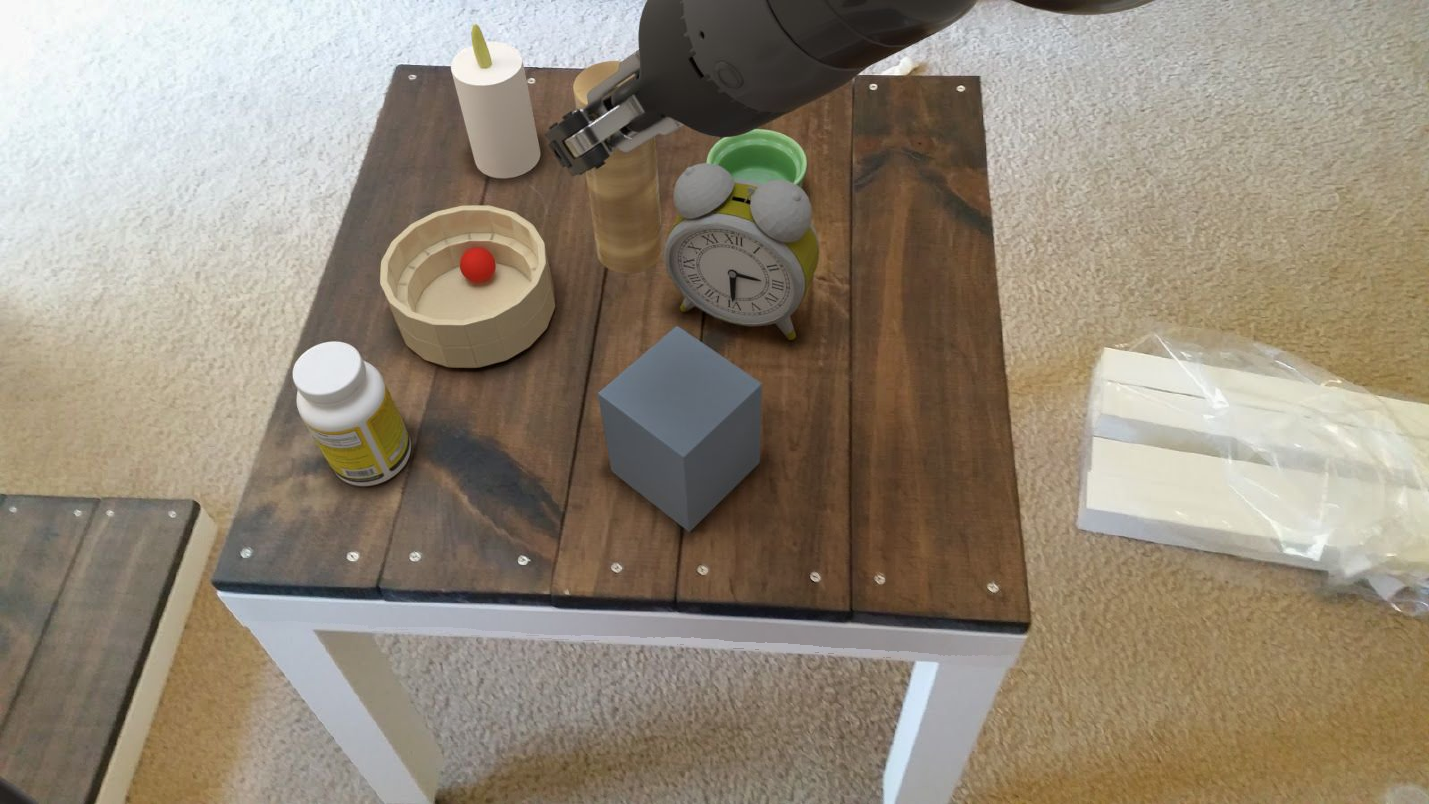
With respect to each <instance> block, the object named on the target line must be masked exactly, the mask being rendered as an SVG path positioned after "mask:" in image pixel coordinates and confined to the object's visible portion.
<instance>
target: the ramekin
mask: <svg viewBox="0 0 1429 804" xmlns="http://www.w3.org/2000/svg"><path fill="white" fill-rule="evenodd" d="M706 163H710V164H716V165H718V166H720V167H722V168H724V169H725V170H726V171H728V172H729V173H730V174H731V176H732V178H733V179H742V180H749V181H754V182H757V183H761V184H765V183H767V182H770V181H772V180H786V181H789V182H792V183H794V184H796V185H797V186H799V187H800V188H801V189H803V188H802V187H803V182H804V178H805V176H806V173H807V167H808V160H807V155H806V153H805V151H804V149H803V147H802V146H801V145H800V144H799V143H798V142H797V141H796V140H795V139H793V138H792V137H790V136H788V135H787V134H783V133H781V132H778V131H776V130H770V129H763V128H762V129H761V128H756V129H754V130H752V131H750V132H748V133H745V134H742V135H739V136H733V137H721V139H719V140H718V141H717V142H716V143H715V144H714V145H713V146H712V147H711V149H710V150H709V152H708V154H707V157H706Z"/></svg>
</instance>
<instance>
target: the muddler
mask: <svg viewBox="0 0 1429 804" xmlns="http://www.w3.org/2000/svg"><path fill="white" fill-rule="evenodd" d="M622 61H623V60H608V61H602V62H597V63H595V64H592V65H590V66H588V67H586V68H584V69H583V70H582V71H581V72H580V73H579V74H578V75H577V76H576V77H575V80H574V82H573V86H572V91H573V98H574V103H575V110H576V109H579V110H580V109H582V108H583V107H586V106H587V104H588V101H587V93H588V92H589V91H590V90H591V89H593V88H594V87H596V86H597V85H599V84H600V83H601V82H603V81H604V80H606V79H607V78H609V77H610V76H611V75H613V74H614V73H616V72H617V71H618V69H619V64H620V63H621V62H622ZM633 76H635V74H633V75H632V76H630V77H629V78H627V79H626V80H624V81H623V82H621V83H620V84H619V85H618V86H620V85H621V84H623V83H624V82H626V81H627V80H629V79H630V78H632V77H633ZM618 86H617V87H618ZM590 116H593V117H594V119H595V120H596V119H598V118H599V117H598V116H597V115H596V114H591V115H590ZM607 139H608V140H609V139H610V136H609V137H607ZM608 140H607V141H608ZM656 145H657V143H656V136H655V137H653V138H651V139H650V140H648V141H646V142H645V143H643V144H641V145H640V146H638V147H636V148H635V149H633V150H631V151H630V152H628V153H624V152H622V151H620V150H619V149H616V148H615V149H613V151H614V152H613V153H612V154H611V155H610V157H609V158H607V159H606V160H605V161H604V162H605V164H604V165H603V166H601V167H600V168H598V169H596V167H594V168H592V169H591V170H589V171H587V172H585V173H584V174H585V180H586V185H587V186H586V187H587V192H588V193H587V194H588V200H589V206H590V207H589V208H590V214H591V221H592V227H593V235H594V239H595V240H594V241H595V247H596V248H595V249H596V254H597V255H596V256H597V258H598V260H599V262H600V263H601V264H602V266H604V267H605V268H607V269H608V270H610V271H611V272H614V273H617V274H623V275H633V274H639V273H642V272H645V271H648V270H649V269H651V268H653V267H654V266H655V265H657V263H658V262H659V261H660V260H661V258H662V257H663V254H664V238H663V227H662V212H661V210H662V209H661V199H660V197H661V196H660V184H659V183H660V182H659V171H658V157H657V147H656Z"/></svg>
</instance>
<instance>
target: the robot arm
mask: <svg viewBox="0 0 1429 804" xmlns="http://www.w3.org/2000/svg"><path fill="white" fill-rule="evenodd" d="M1010 1H1011V2H1013V3H1016V4H1019V5H1022V6H1024V7H1027V8H1030V9H1034V10H1039V11H1045V12H1049V13H1055V14H1060V15H1069V16H1070V15H1071V16H1099V15H1109V14H1116V13H1121V12H1125V11H1130V10H1134V9H1137V8H1140V7H1142V6H1145V5H1148V4H1150V3H1153V2H1156V1H1157V0H1010ZM978 2H979V0H646V2H645V4H644V6H643V8H642V11H641V14H640V18H639V24H638V36H637V37H638V38H637V40H638V41H637V42H638V49H637V50H636V51H634V52H633V53H631V54H630V55H628V56H627V57H625V58H624V59H623V60H621V61H622V62H621V63H620V64H619V69H618V71H617V72H616V73H614V74H613V75H611V76H610V77H609V78H607V79H606V80H604V81H603V82H601V83H600V84H599V85H597V86H596V87H594V88H593V89H591V90H590V91H589V92H588V93H587V101H588V104H587V106H586V107H583V108H582V109H580V110H579V109H576V108H575V110H573V111H572V110H571V111H569V112H568V113H566V114H564V115H563V116H562V117H561V118H562V121H560V122H559V123H558V122H557V121H556V122H555V123H553V124H551V125H550V126H549V127H548V129H549V130H548V131H547V132H545V134H543V135H544V136H545V138H546V139H547V142H549V143H548V144H547V146H548V148H549V149H550V151H551V153H552V154H553V156H554V157H555V158H556V160H557V161H558V163H559V164H560V166H561V167H562V168H565V167H566V170H567V171H568V172H569V174H570V175H571V176H572V177H575V176H578V175H579V176H582V175H583V174H586V173H585V172H587V171H589V170H591V169H592V168H594V167H596V169H598V168H600V167H601V166H603V165H604V164H605V162H604V161H605V160H606V159H607V158H609V157H610V155H611V154H612V153H613V152H614V151H613V149H615V148H616V149H619V150H620V151H622V152H624V153H628V152H630V151H631V150H633V149H635V148H636V147H638V146H640V145H641V144H643V143H645V142H646V141H648V140H650V139H651V138H653V137H655V138H656V137H657V136H658V135H660V136H663V137H667V136H669V135H670V134H672V133H673V132H675V131H677V130H679V129H681V128H683V127H684V126H685V127H687V128H689V129H691V130H692V131H695V132H698V133H700V134H703V135H707V136H710V137H716V138H724V137H733V136H739V135H742V134H745V133H748V132H750V131H752V130H754V129H759V128H760V127H762V126H764V125H766V124H769V123H771V122H773V121H775V120H777V119H779V118H781V117H783V116H785V115H788V114H789V113H792V112H794V111H795V110H797V109H800V108H801V107H804V106H805V105H808V104H810V103H812V102H814V101H816V100H818V99H820V98H822V97H824V96H827V95H828V94H830V93H832V92H835V91H836V90H837V89H840V88H841V87H843V86H845V85H847V84H848V83H849V82H850V81H852V80H853V79H855V78H856V77H857V76H859V75H860V74H861V73H862V72H864V71H865V70H866V69H867V68H869V67H871V66H873V65H875V64H877V63H879V62H881V61H883V60H885V59H888V58H889V57H891V56H893V55H895V54H897V53H899V52H901V51H903V50H906V49H908V48H909V47H911V46H913V45H915V44H918V43H919V42H921V41H923V40H925V39H927V38H929V37H932V36H934V35H936V34H937V33H939V32H941V31H942V30H945V29H947V28H948V27H951V26H952V25H953V24H955V23H957V22H958V21H959V20H961V19H962V18H964V16H966V15H967V14H968V13H969V12H970V11H971V10H972V9H974V7H975V6H976V4H977V3H978ZM633 74H635V76H633V77H632V78H630V79H629V80H627V81H626V82H624V83H623V84H621V85H620V86H618V85H619V84H620V83H621V82H623V81H624V80H626V79H627V78H629V77H630V76H632V75H633ZM617 86H618V87H617ZM591 114H596V115H597V116H598V117H599V118H598V119H596V120H595V119H594V117H593V116H590V115H591ZM609 136H610V139H609V140H608V139H607V137H609ZM607 140H608V141H607ZM0 804H42V803H41V802H40V800H38V799H36V797H35V798H34V797H33V796H32V795H31V794H29V793H28V792H26V791H24V790H22V789H21V788H20V787H18V786H16V785H15V784H14V783H12V782H11V781H9V780H7V779H6V778H4V777H3V776H2V775H0Z"/></svg>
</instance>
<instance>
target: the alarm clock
mask: <svg viewBox="0 0 1429 804" xmlns="http://www.w3.org/2000/svg"><path fill="white" fill-rule="evenodd" d="M672 197H673V204H674V207H675V209H676V211H677V213H678V215H677V217H676V219H675V220H674V223H673V224H672V227H671V228H670V230H669V232H668V234H667V237H666V240H665V244H664V246H663V260H664V264H665V268H666V272H667V274H668V276H669V278H670V280H671V281H672V283H673V285H674V286H675V288H676V289H677V290H678V292H679V293H680V294H681V295H682V296H683V297H684V298H683V301H682V303H681V305H680V306H679V309H680V311H681V312H683V313H687V312H688V311H690V310H692V309H693V308H694V307H696V308H697V309H699V310H701V311H702V312H705V313H706V314H707V315H709V316H711V317H712V318H715V319H718V320H721V321H723V322H727V323H729V324H734V325H739V326H743V327H761V326H762V327H763V326H764V327H765V326H772V325H776V327H778V329H779V330H780V331H781V332H782V334H783V335H784V336H785V337H786V338H787V340H789V341H792V340H794V339H795V338H797V335H796V330H795V328H794V325H793V321H792V318H791V316H792V315H793V314H794V313H795V312H796V311H797V310H798V308H799V307H800V305H801V304H802V303H803V301H804V299H805V296H806V295H807V293H808V290H809V287H810V285H811V282H812V280H813V277H814V275H815V272H816V270H817V268H818V263H819V259H820V253H821V251H820V241H819V236H818V234H817V230H816V228H815V226H814V225H813V223H812V214H813V213H812V212H813V208H812V207H813V206H812V204H811V202H810V197H809V196H808V195H807V193H806V191H804V189H803V188H802V189H801V188H800V187H799V186H797V185H796V184H794V183H792V182H789V181H786V180H772V181H770V182H767V183H765V184H761V183H757V182H754V181H749V180H742V179H733V178H732V176H731V174H730V173H729V172H728V171H726V170H725V169H724V168H722V167H720V166H718V165H716V164H710V163H707V162H703V163H697V164H696V163H695V164H694V165H692V166H688V167H687V168H686V169H685V170H684V171H683V172H682V173H681V174H680V176H679V177H678V178H677V180H676V182H675V185H674V190H673V196H672Z"/></svg>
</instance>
